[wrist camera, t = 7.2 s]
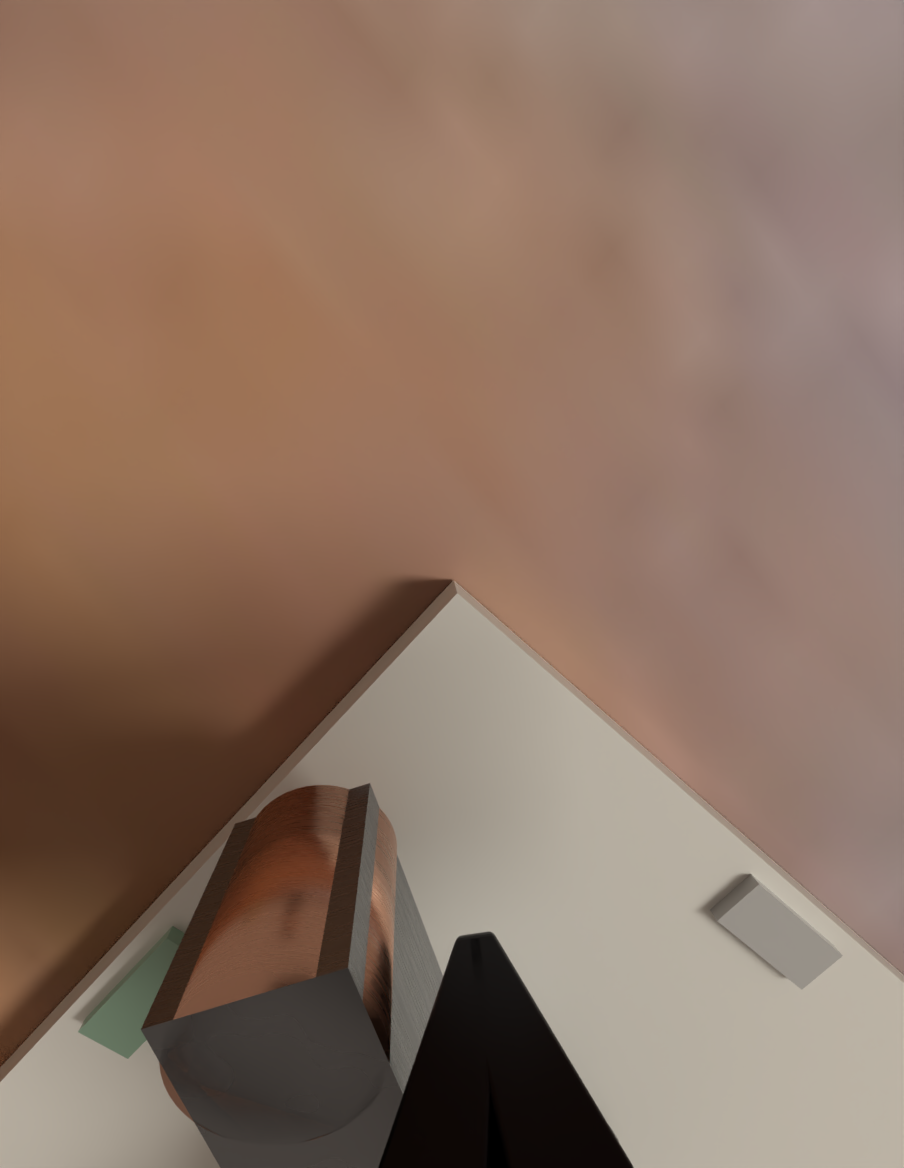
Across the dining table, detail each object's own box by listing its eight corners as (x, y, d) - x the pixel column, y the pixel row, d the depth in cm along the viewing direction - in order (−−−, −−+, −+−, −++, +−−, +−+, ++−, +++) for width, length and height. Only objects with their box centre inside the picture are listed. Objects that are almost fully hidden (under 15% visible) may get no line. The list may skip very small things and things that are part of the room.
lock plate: (491, 1460, 19) (496, 1534, 17) (-120, 1196, 14) (-172, 1270, 13) (1010, 1068, 16) (1062, 1123, 14) (453, 579, 11) (458, 597, 10)
